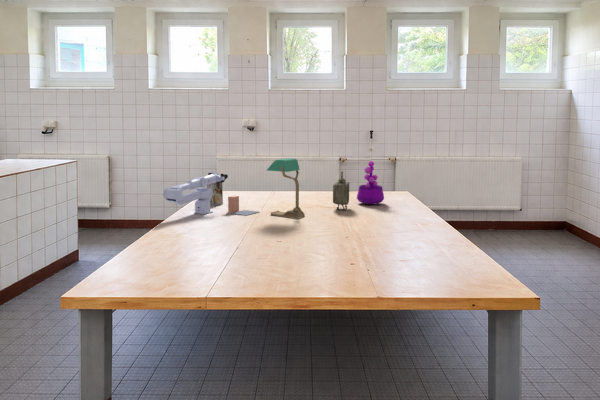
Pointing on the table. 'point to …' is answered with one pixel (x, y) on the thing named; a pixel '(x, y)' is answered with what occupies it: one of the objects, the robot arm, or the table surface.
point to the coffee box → (216, 193)
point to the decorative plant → (370, 188)
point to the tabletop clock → (341, 192)
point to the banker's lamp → (288, 166)
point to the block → (233, 204)
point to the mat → (245, 212)
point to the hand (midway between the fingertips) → (222, 175)
